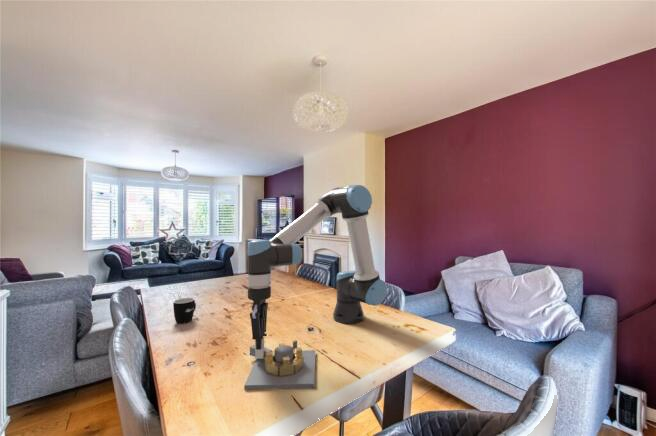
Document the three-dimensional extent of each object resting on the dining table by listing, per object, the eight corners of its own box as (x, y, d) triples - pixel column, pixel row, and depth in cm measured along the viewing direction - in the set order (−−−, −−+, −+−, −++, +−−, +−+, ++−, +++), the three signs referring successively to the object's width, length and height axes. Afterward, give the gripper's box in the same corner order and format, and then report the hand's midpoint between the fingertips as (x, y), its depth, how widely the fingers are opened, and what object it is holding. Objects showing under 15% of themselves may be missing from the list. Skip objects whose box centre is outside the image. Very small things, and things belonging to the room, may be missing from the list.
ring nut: (309, 360, 90) (309, 347, 90) (288, 379, 79) (288, 364, 79) (263, 347, 99) (263, 335, 99) (238, 362, 88) (238, 349, 88)
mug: (185, 325, 123) (185, 303, 123) (168, 324, 125) (168, 302, 125) (202, 316, 135) (202, 296, 135) (187, 315, 137) (187, 295, 137)
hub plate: (315, 353, 97) (315, 335, 97) (314, 387, 77) (314, 365, 77) (259, 354, 97) (259, 336, 97) (244, 389, 77) (244, 367, 77)
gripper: (254, 282, 96) (254, 349, 96) (241, 290, 84) (241, 367, 83) (275, 282, 96) (275, 349, 95) (265, 290, 83) (265, 367, 83)
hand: (259, 357), depth 89 cm, fingers closed
